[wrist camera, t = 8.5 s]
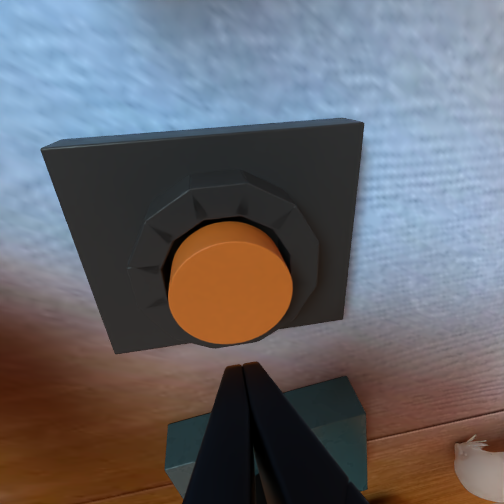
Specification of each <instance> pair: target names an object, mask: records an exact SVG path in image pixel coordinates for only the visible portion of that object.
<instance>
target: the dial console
mask: <svg viewBox="0 0 504 504" xmlns="http://www.w3.org/2000/svg"><path fill="white" fill-rule="evenodd" d="M283 394H284V395H285V397H286V398H287V399H288V401H289V402H290V403H291V404H292V406H293V407H294V408H295V410H296V411H297V412H298V413H299V415H300V416H301V417H302V418H303V420H304V421H305V422H306V424H307V425H308V426H309V427H310V429H311V430H312V431H313V433H314V434H315V435H316V436H317V438H318V439H319V440H320V442H321V443H322V444H323V445H324V447H325V448H326V449H327V450H328V452H329V453H330V454H331V456H332V457H333V458H334V459H335V461H336V462H337V463H338V465H339V466H340V467H341V468H342V470H343V471H344V472H345V474H346V475H347V476H348V477H349V482H350V481H352V482H353V483H354V485H355V486H356V487H357V489H358V490H359V491H364V490H367V489H368V488H367V439H366V413H365V411H364V409H363V407H362V405H361V403H360V401H359V399H358V397H357V395H356V393H355V391H354V389H353V388H352V386H351V384H350V382H349V380H348V378H347V376H344V377H340V378H336V379H333V380H329V381H326V382H322V383H318V384H315V385H311V386H307V387H304V388H300V389H296V390H293V391H289V392H285V393H283ZM210 415H211V413H209V414H205V415H201V416H198V417H194V418H190V419H187V420H183V421H179V422H176V423H172V424H169V425H168V434H167V446H166V459H165V471H166V473H167V475H168V476H169V478H170V479H171V481H172V482H173V484H174V486H175V487H176V489H177V490H178V492H179V493H180V495H181V496H182V498H183V500H184V497H185V493H186V490H187V487H188V484H189V481H190V478H191V475H192V471H193V468H194V465H195V462H196V459H197V456H198V453H199V449H200V446H201V443H202V440H203V437H204V434H205V431H206V427H207V424H208V421H209V418H210ZM253 450H254V448H253ZM254 464H255V476H256V475H257V474H258V473H259V471H258V467H257V463H256V459H255V454H254Z"/></svg>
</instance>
